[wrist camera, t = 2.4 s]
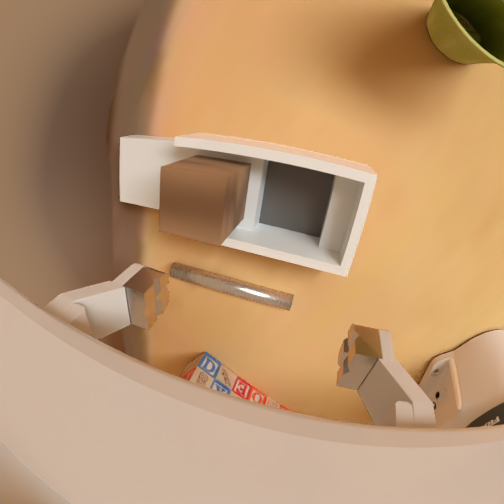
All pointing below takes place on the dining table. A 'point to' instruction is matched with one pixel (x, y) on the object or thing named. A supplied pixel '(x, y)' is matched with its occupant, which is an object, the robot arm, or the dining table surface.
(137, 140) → the channel
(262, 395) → the stack of blocks
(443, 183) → the dining table surface
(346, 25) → the dining table surface
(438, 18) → the plant pot
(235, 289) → the steel rod
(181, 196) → the walnut block
